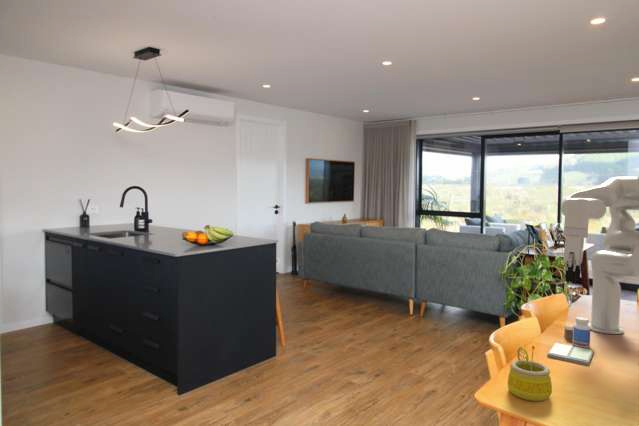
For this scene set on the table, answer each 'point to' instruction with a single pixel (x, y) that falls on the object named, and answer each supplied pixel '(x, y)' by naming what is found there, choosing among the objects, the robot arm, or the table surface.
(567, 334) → the walnut block
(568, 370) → the table surface
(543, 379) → the yellow-green planter pot
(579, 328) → the pill bottle
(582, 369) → the table surface
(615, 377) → the table surface
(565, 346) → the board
